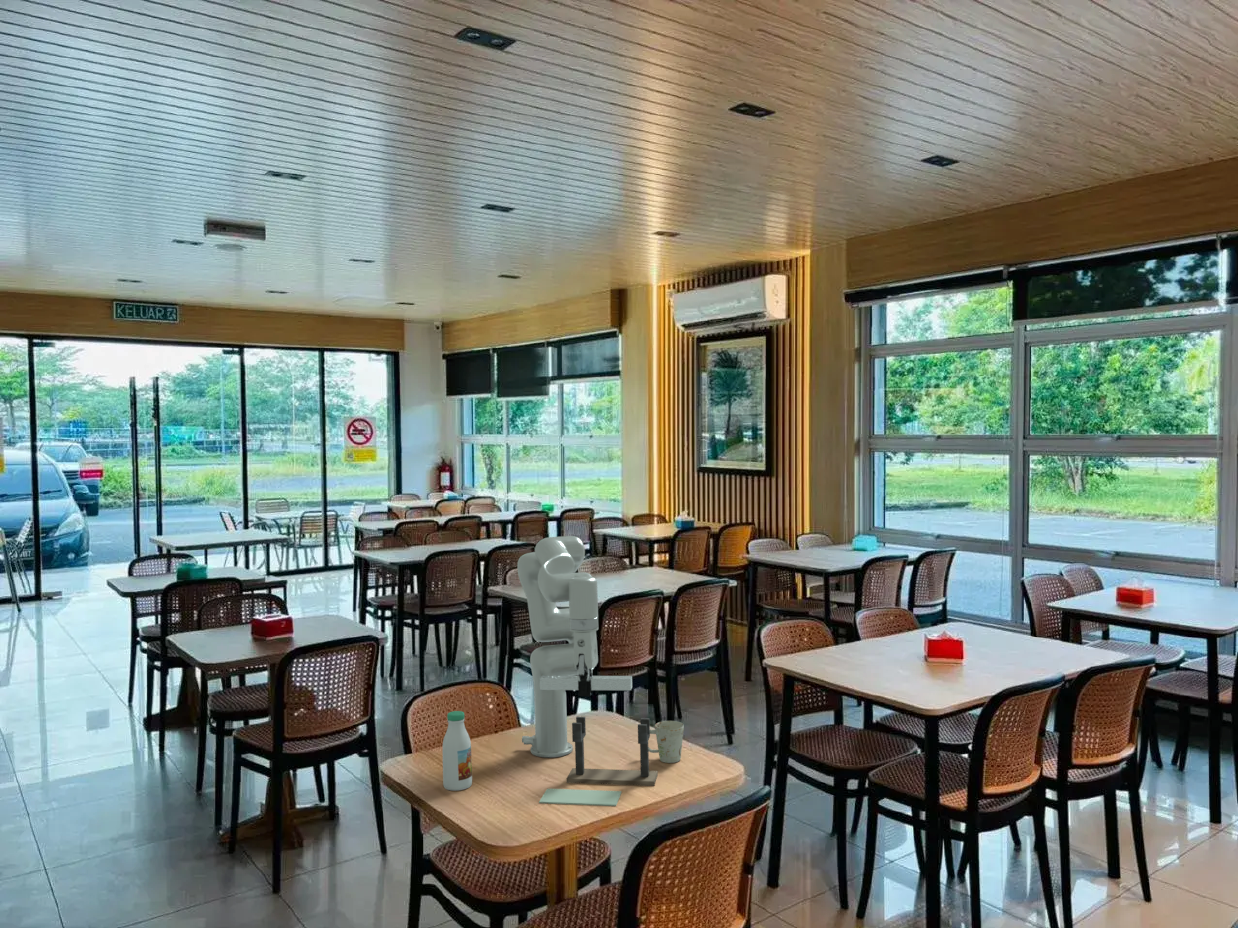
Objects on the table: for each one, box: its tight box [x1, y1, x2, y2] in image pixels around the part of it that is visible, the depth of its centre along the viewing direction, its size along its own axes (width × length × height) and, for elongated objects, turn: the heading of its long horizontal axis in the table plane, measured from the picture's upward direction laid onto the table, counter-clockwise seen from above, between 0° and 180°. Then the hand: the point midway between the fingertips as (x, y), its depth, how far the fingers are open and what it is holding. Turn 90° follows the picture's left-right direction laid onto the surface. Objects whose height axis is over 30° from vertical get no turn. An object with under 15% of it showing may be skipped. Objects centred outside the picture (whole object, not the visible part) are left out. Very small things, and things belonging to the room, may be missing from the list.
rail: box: [540, 675, 633, 691], centre depth 240 cm, size 24×3×3 cm, turn 82°
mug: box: [648, 720, 685, 764], centre depth 266 cm, size 8×13×10 cm, turn 79°
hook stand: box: [565, 716, 659, 787], centre depth 251 cm, size 24×8×16 cm, turn 81°
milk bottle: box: [442, 710, 473, 792], centre depth 248 cm, size 8×8×20 cm
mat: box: [538, 788, 623, 807], centre depth 238 cm, size 20×9×1 cm, turn 81°
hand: (586, 693), depth 240 cm, fingers closed on rail, 3 cm apart
